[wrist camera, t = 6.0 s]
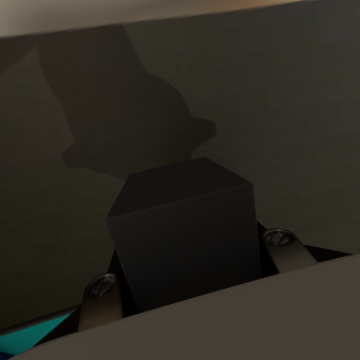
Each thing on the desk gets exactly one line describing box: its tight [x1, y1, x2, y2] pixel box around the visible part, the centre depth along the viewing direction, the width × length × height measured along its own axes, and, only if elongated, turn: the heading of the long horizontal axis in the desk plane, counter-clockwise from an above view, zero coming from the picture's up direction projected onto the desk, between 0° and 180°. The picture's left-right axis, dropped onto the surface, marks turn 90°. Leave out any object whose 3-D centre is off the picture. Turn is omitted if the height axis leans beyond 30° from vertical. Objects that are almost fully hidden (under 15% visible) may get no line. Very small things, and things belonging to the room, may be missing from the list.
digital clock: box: [105, 157, 262, 313], centre depth 9 cm, size 8×4×6 cm, turn 12°
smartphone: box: [0, 305, 81, 356], centre depth 22 cm, size 7×1×15 cm
